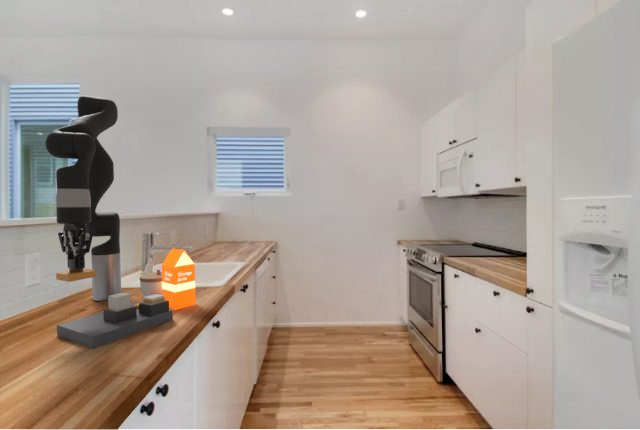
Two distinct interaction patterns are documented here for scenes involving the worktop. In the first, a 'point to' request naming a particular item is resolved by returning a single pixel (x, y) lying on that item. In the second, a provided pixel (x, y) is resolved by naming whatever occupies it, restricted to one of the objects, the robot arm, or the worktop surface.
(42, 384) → the worktop surface
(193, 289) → the orange juice
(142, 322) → the breaker panel
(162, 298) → the breaker tagged
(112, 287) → the robot arm
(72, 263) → the cap
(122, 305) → the breaker plain
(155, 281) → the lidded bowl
